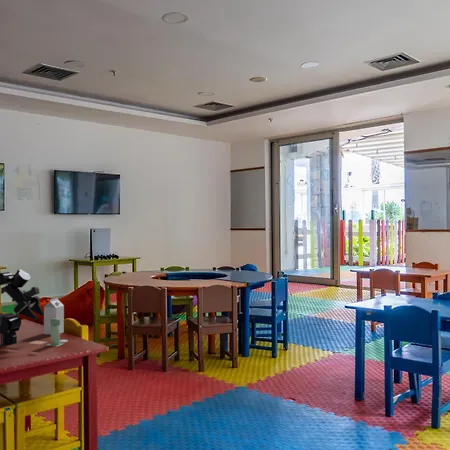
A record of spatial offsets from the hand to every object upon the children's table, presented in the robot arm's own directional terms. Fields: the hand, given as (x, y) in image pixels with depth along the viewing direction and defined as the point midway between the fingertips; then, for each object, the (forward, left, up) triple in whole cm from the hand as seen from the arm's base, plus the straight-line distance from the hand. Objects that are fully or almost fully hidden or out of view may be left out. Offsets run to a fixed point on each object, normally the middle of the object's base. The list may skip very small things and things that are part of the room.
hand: (39, 317), depth 231 cm
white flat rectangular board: (+3, +4, -14) cm, 15 cm away
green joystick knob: (+8, +1, -12) cm, 15 cm away
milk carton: (-8, +21, -14) cm, 26 cm away
